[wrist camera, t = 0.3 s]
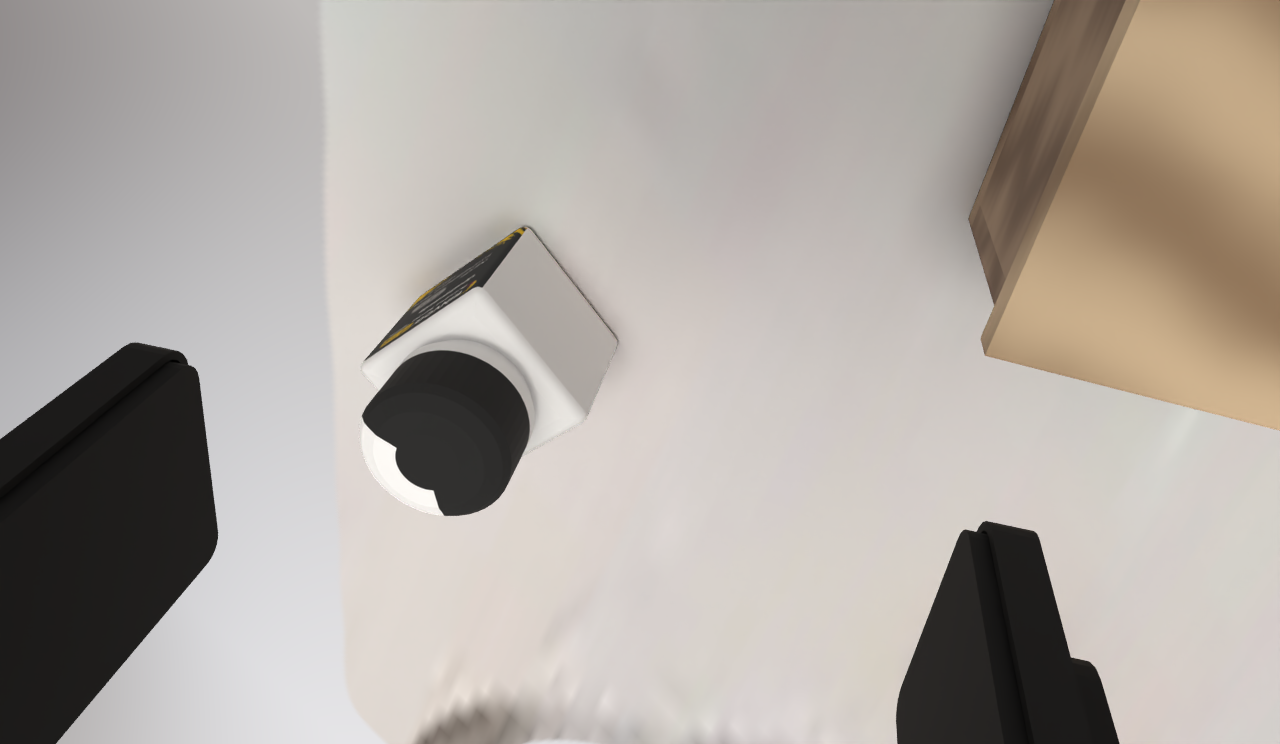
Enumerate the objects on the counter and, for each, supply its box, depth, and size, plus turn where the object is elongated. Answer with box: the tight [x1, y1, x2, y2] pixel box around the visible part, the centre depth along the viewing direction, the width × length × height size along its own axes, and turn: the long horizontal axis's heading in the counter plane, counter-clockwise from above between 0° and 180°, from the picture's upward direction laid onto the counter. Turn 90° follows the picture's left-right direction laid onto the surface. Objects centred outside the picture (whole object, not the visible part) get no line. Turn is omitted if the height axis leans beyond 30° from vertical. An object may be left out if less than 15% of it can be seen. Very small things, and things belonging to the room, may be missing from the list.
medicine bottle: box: [359, 227, 617, 516], centre depth 42 cm, size 7×7×12 cm
